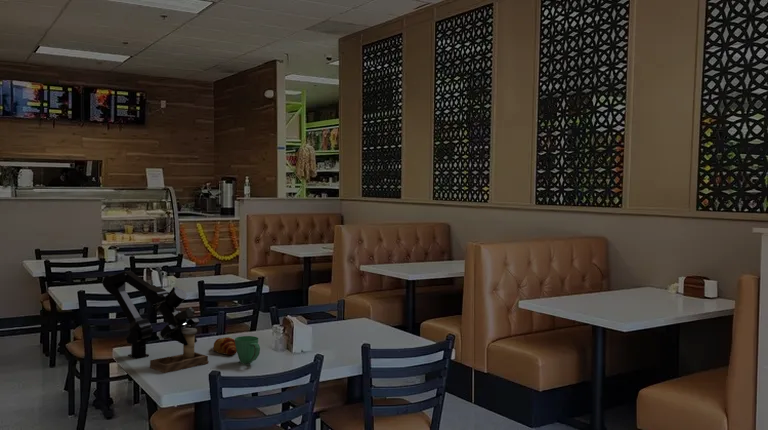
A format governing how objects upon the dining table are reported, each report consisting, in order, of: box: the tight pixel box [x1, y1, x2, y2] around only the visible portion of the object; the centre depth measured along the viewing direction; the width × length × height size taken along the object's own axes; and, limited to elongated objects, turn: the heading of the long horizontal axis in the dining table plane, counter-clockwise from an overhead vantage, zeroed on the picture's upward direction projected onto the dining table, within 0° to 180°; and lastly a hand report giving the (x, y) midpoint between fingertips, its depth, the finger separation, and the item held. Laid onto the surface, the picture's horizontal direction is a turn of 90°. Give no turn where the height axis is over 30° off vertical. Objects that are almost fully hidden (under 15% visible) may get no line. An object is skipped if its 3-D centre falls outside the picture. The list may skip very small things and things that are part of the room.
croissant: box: [213, 336, 237, 356], centre depth 294 cm, size 21×10×8 cm, turn 35°
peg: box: [181, 327, 198, 360], centre depth 271 cm, size 6×6×13 cm
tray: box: [149, 351, 209, 374], centre depth 269 cm, size 20×11×3 cm, turn 140°
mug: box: [234, 335, 261, 365], centre depth 275 cm, size 15×10×10 cm
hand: (191, 343), depth 271 cm, fingers closed on peg, 5 cm apart
